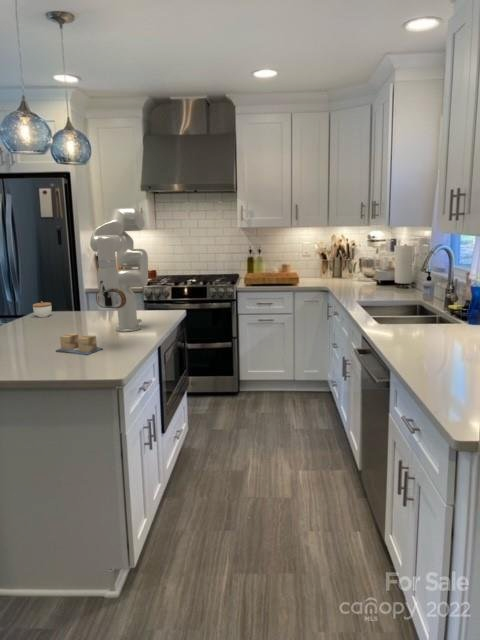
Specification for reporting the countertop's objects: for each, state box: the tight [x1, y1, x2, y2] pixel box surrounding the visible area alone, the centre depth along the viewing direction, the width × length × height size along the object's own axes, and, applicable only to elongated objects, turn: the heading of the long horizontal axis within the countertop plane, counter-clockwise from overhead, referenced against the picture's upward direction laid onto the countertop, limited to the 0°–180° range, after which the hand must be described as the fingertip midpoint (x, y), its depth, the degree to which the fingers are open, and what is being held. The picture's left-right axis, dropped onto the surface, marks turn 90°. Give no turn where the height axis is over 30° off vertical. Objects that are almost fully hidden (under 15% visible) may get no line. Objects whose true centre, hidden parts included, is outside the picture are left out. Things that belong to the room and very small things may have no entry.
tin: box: [95, 289, 126, 310], centre depth 223 cm, size 15×3×8 cm, turn 67°
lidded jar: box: [32, 300, 53, 318], centre depth 301 cm, size 11×11×9 cm
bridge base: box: [55, 333, 104, 356], centre depth 221 cm, size 10×18×7 cm, turn 66°
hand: (110, 304), depth 224 cm, fingers closed on tin, 2 cm apart
